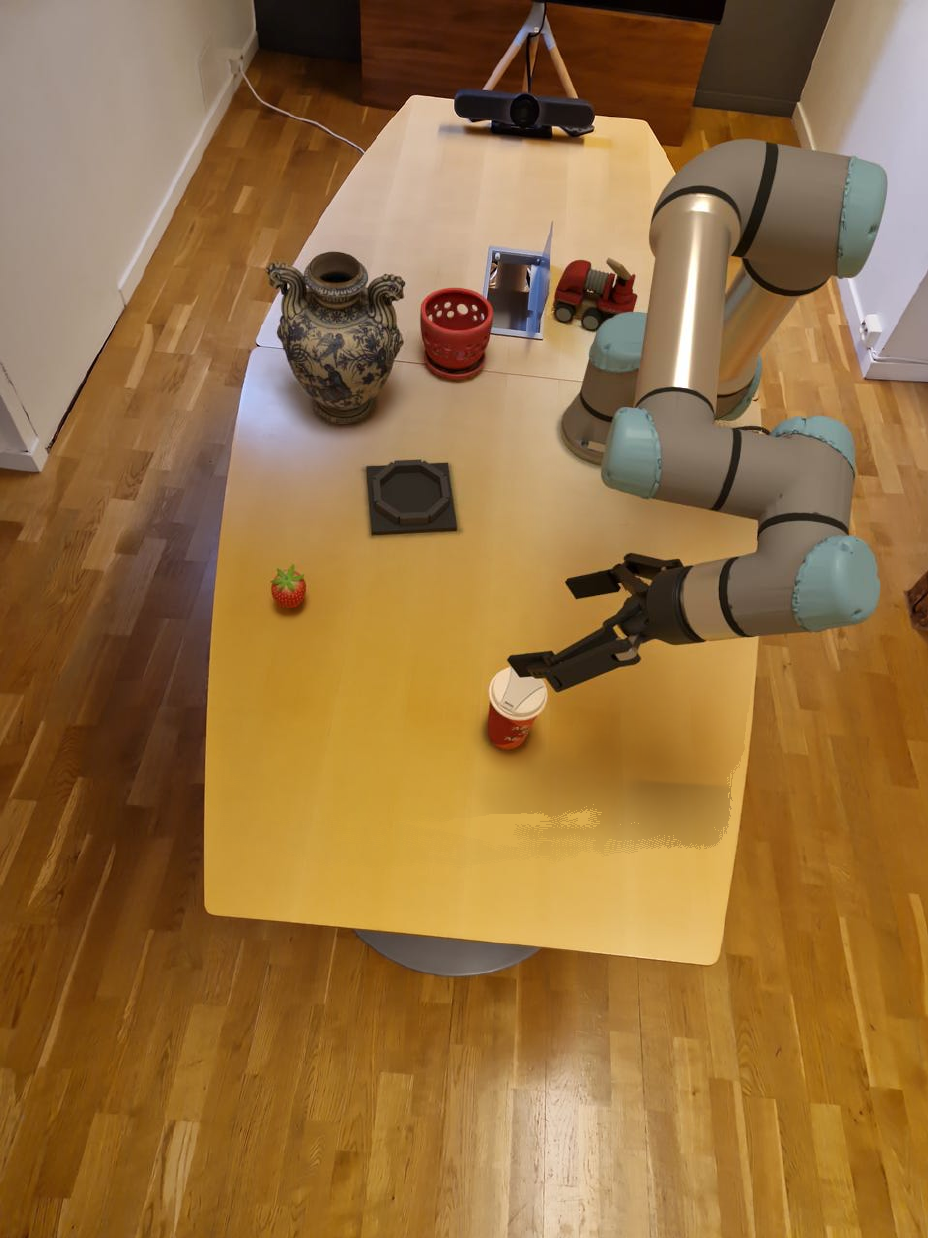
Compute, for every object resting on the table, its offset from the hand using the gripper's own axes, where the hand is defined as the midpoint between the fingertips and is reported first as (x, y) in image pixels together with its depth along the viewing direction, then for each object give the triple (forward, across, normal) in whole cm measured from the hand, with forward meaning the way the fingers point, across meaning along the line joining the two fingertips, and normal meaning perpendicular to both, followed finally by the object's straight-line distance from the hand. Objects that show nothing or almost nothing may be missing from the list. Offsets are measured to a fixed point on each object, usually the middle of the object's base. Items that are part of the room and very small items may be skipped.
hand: (544, 626), depth 94 cm
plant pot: (+49, +59, +22) cm, 80 cm away
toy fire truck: (+37, +85, +12) cm, 94 cm away
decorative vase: (+56, +38, +28) cm, 74 cm away
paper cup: (+21, +1, -18) cm, 28 cm away
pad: (+42, +27, +11) cm, 51 cm away
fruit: (+46, 0, +11) cm, 48 cm away
